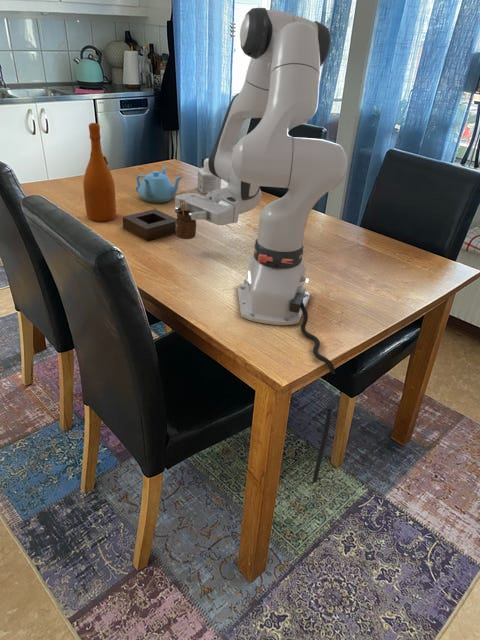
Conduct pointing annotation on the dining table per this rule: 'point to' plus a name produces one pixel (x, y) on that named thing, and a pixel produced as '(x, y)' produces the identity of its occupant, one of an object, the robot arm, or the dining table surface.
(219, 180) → the container
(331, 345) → the dining table surface
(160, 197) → the teapot
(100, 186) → the wine bottle
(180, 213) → the utensil holder
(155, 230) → the socket block
